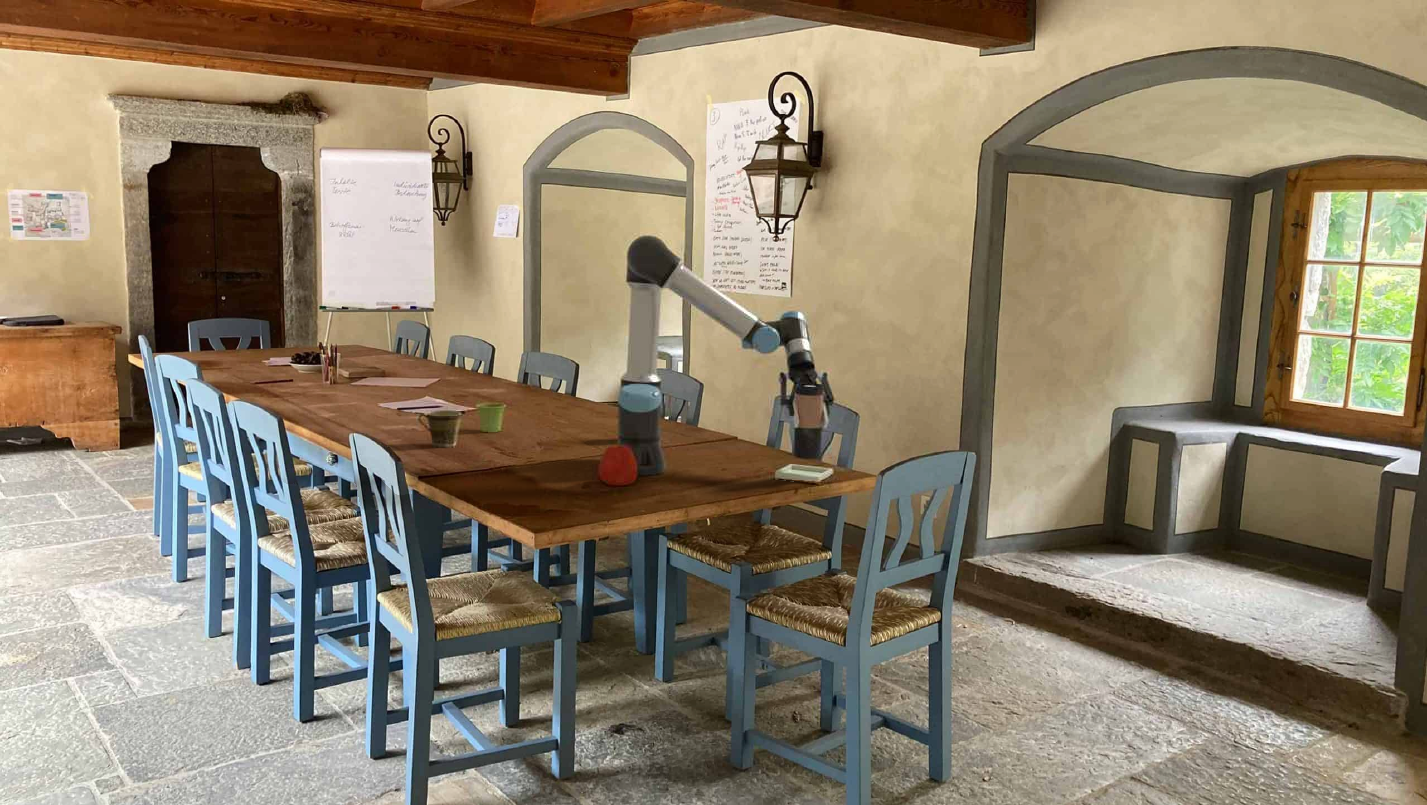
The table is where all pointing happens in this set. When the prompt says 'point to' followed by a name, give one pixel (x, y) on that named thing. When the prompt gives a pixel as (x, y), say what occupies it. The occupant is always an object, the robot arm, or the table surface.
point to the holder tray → (803, 473)
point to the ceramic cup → (443, 427)
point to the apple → (618, 466)
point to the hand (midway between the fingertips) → (811, 424)
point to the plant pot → (491, 416)
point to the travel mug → (808, 420)
